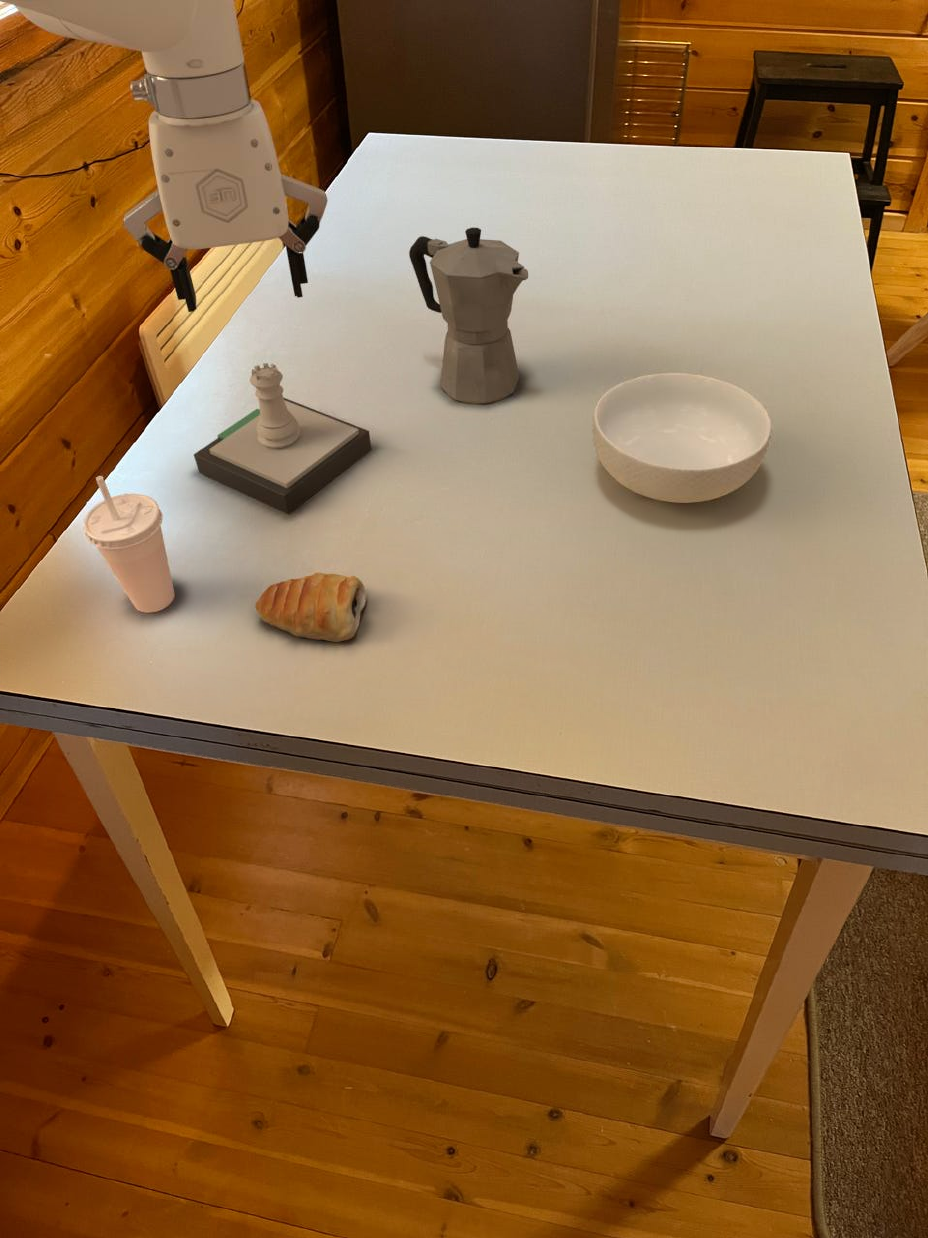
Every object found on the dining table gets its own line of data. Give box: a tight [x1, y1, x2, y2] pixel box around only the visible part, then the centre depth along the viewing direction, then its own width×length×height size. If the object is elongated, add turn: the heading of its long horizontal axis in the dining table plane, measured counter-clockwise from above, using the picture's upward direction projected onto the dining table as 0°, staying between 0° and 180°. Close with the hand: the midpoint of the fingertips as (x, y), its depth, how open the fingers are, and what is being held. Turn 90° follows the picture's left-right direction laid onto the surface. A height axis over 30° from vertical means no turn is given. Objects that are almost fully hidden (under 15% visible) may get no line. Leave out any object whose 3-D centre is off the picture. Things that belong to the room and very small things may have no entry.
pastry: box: [254, 572, 367, 643], centre depth 81 cm, size 9×7×4 cm
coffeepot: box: [408, 227, 529, 405], centre depth 102 cm, size 15×9×18 cm, turn 53°
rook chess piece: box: [249, 362, 300, 449], centre depth 94 cm, size 4×4×8 cm
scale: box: [193, 396, 372, 515], centre depth 98 cm, size 13×13×3 cm
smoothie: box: [82, 475, 176, 614], centre depth 80 cm, size 6×6×14 cm
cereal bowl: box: [592, 372, 773, 504], centre depth 91 cm, size 17×17×7 cm
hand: (245, 297), depth 85 cm, fingers open, 9 cm apart
